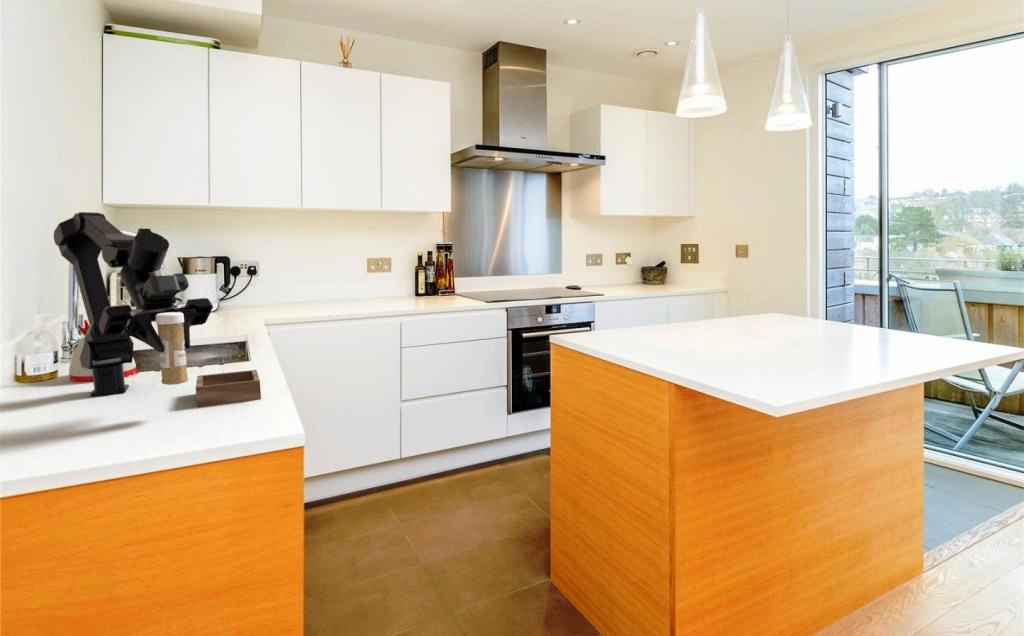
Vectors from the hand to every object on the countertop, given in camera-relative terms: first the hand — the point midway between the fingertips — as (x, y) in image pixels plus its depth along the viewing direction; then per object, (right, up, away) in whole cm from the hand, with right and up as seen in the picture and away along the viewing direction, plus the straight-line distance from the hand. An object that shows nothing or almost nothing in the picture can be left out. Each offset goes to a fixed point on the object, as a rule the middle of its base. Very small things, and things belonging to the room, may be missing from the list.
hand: (175, 349), depth 109 cm
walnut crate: (+2, -11, +16) cm, 20 cm away
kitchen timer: (-40, -9, +37) cm, 56 cm away
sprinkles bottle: (-1, -7, +2) cm, 7 cm away
